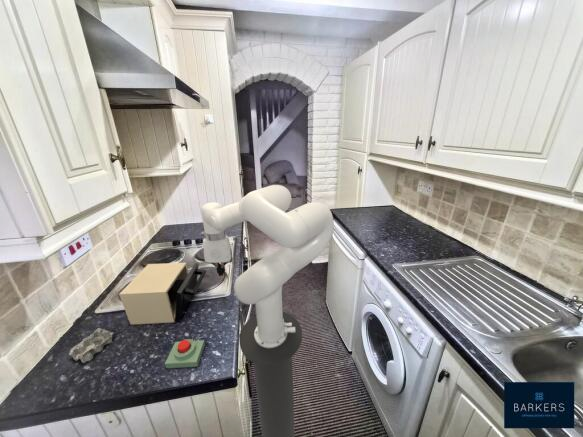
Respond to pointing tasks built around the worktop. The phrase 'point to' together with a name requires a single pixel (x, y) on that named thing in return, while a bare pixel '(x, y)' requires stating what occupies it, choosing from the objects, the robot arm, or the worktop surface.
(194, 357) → the control block
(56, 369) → the worktop surface
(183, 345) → the button
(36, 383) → the worktop surface
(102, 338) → the egg carton
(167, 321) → the oven
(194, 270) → the oven door
